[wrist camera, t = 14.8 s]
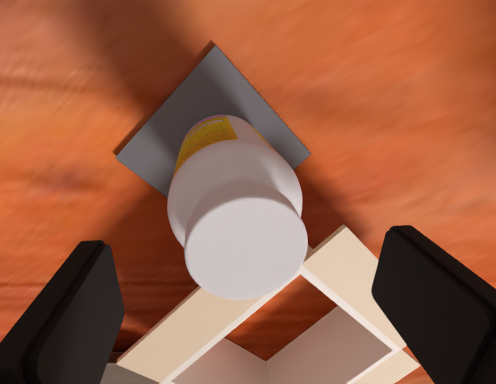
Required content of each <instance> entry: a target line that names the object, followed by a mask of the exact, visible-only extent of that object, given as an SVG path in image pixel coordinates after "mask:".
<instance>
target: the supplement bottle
mask: <svg viewBox="0 0 496 384" xmlns="http://www.w3.org/2000/svg"><path fill="white" fill-rule="evenodd" d="M167 212H168V218H169V222H170V226H171V228H172V231H173V233H174V235H175V236H176V238H177V240H178V241H179V242H180V244H181V245H182V246H183V247H184V256H185V262H186V266H187V269H188V271H189V273H190V275H191V277H192V278H193V279H194V281H195V282H196V283H197V284H198V285H199V286H200V287H202V288H203V289H205V290H206V291H208V292H210V293H212V294H214V295H216V296H219V297H222V298H227V299H234V300H244V299H252V298H257V297H261V296H265V295H267V294H270V293H272V292H274V291H276V290H277V289H279V288H281V287H282V286H283V285H285V284H286V283H287V282H288V281H290V280H291V279H292V278H293V277H294V275H295V274H296V273H297V272H298V270H299V269H300V267H301V266H302V264H303V261H304V259H305V256H306V252H307V246H308V238H307V232H306V228H305V226H304V223H303V221H302V219H301V218H300V217H301V213H302V191H301V187H300V184H299V181H298V179H297V177H296V174H295V173H294V171H293V169H292V168H291V167H290V165H289V164H288V163H287V162H286V161H285V160H284V159H283V157H282V156H281V155H280V154H279V153H278V152H277V151H276V150H275V149H274V148H273V147H272V146H271V145H270V144H269V143H268V142H267V141H266V140H265V139H264V138H263V136H262V135H261V134H260V133H259V132H258V131H257V130H256V129H255V128H254V127H253V126H252V125H250V124H249V123H248V122H246V121H244V120H243V119H241V118H238V117H235V116H231V115H215V116H211V117H208V118H205V119H203V120H201V121H200V122H198V123H197V124H196V125H194V126H193V127H192V128H191V129H190V130H189V132H188V133H187V135H186V136H185V138H184V140H183V143H182V145H181V149H180V152H179V156H178V159H177V163H176V167H175V171H174V175H173V179H172V182H171V186H170V190H169V195H168V203H167Z"/></svg>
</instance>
